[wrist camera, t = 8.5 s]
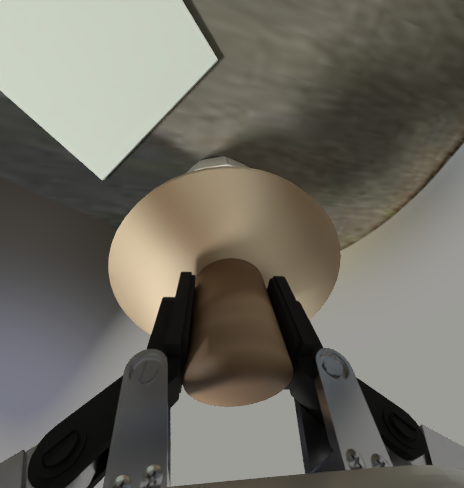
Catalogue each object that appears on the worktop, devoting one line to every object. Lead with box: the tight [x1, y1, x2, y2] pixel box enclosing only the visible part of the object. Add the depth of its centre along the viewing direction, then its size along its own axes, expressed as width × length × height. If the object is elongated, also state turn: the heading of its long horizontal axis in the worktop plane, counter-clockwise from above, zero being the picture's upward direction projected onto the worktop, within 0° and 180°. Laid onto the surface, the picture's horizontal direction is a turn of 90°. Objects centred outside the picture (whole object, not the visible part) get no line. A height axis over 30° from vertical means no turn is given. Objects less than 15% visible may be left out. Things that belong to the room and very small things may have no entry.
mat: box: [0, 0, 218, 180], centre depth 16 cm, size 16×16×1 cm
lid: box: [108, 166, 341, 407], centre depth 10 cm, size 13×13×6 cm
